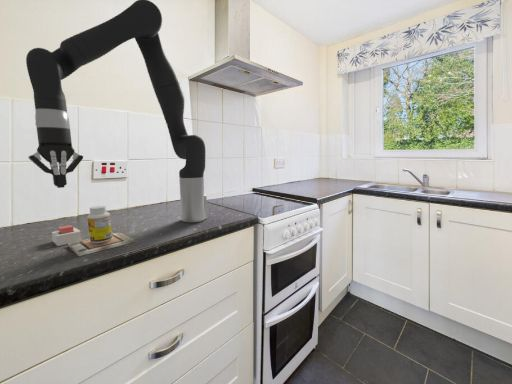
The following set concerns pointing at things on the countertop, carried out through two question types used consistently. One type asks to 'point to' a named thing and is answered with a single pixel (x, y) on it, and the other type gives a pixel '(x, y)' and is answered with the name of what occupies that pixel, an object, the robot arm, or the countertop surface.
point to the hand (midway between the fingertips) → (60, 187)
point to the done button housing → (66, 237)
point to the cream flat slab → (99, 244)
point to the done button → (65, 229)
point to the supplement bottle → (99, 225)
